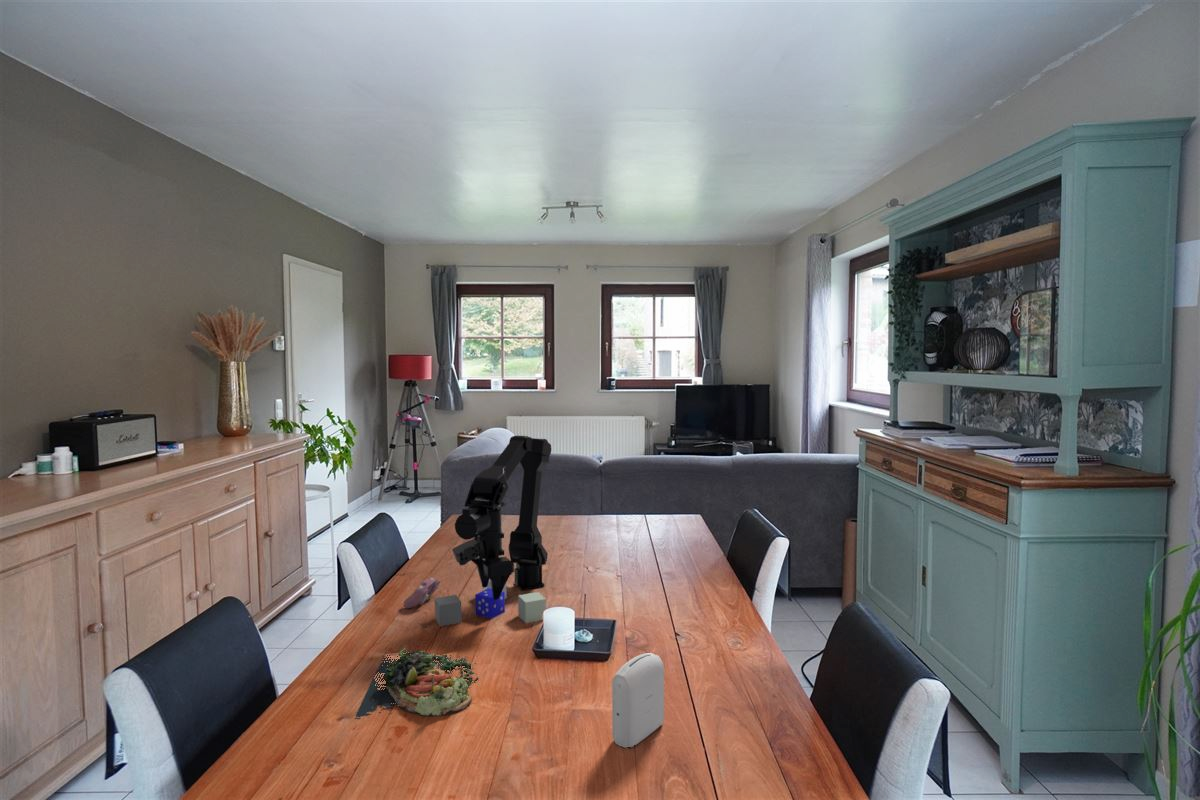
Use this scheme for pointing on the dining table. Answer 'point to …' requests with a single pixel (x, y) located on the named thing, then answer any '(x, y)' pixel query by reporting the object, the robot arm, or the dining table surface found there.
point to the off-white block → (491, 588)
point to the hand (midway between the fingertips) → (490, 593)
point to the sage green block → (531, 607)
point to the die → (489, 604)
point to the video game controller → (422, 593)
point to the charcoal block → (448, 610)
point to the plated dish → (419, 685)
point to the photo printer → (637, 699)
